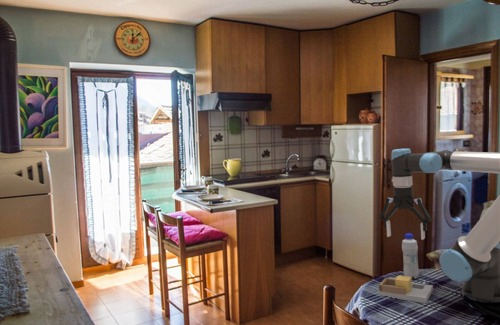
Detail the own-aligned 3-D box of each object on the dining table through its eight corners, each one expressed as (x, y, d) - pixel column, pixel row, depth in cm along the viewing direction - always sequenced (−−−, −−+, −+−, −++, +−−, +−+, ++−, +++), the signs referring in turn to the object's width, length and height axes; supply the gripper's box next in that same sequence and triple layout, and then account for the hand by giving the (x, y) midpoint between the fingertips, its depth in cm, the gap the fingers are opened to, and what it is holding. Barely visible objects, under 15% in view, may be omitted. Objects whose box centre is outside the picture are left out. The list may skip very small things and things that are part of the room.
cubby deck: (433, 290, 161) (432, 279, 161) (426, 303, 150) (425, 291, 150) (388, 284, 172) (387, 274, 172) (378, 295, 160) (377, 284, 160)
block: (411, 289, 159) (411, 276, 159) (408, 293, 155) (408, 281, 155) (399, 287, 162) (398, 275, 162) (395, 291, 158) (395, 279, 158)
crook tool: (409, 283, 166) (408, 279, 166) (406, 286, 163) (406, 282, 163) (389, 280, 170) (389, 277, 170) (387, 283, 167) (386, 279, 167)
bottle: (400, 276, 180) (397, 233, 179) (412, 274, 182) (410, 230, 181) (410, 281, 173) (407, 235, 172) (422, 278, 175) (420, 233, 174)
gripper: (437, 185, 158) (440, 237, 159) (375, 185, 173) (378, 233, 174) (433, 187, 152) (436, 242, 153) (369, 187, 167) (372, 237, 168)
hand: (405, 237), depth 164 cm, fingers open, 13 cm apart
